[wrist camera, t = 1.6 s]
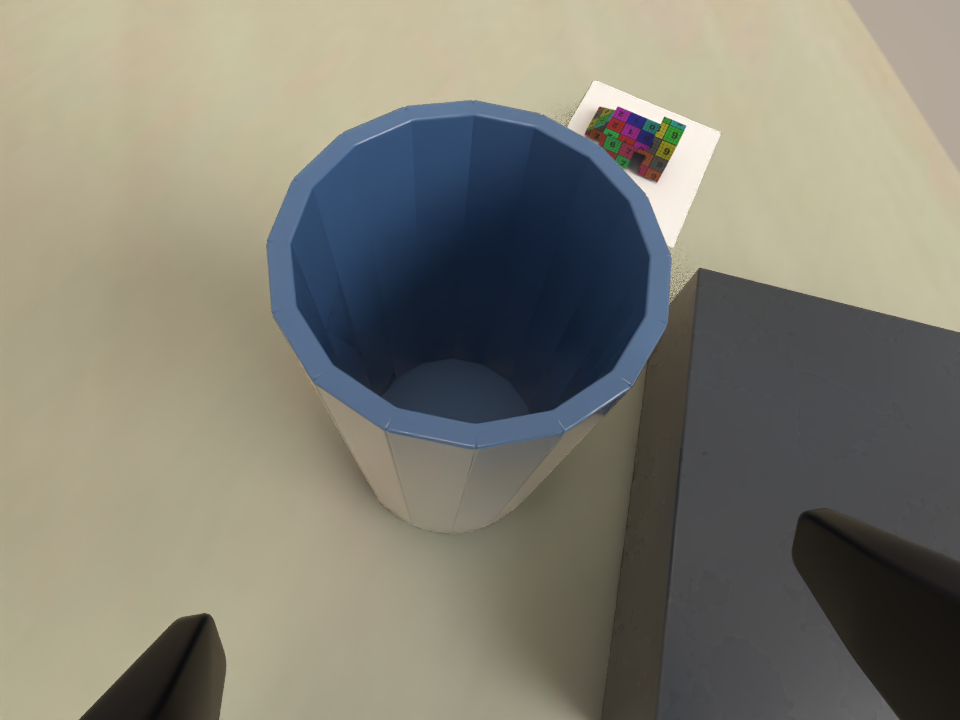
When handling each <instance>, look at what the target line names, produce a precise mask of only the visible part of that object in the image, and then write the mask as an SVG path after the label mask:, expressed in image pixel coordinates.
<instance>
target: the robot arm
mask: <svg viewBox="0 0 960 720" xmlns="http://www.w3.org/2000/svg"><path fill="white" fill-rule="evenodd" d="M791 553H792V559H793V563H794V565H795V567H796V569H797V571H798V572H799V574H800V575H801V577H802V579H803V580H804V582H805V583H806V585H807V586H808V588H809V590H810V591H811V593H812V594H813V596H814V598H815V599H816V601H817V602H818V604H819V605H820V607H821V609H822V610H823V612H824V613H825V615H826V617H827V618H828V620H829V621H830V623H831V625H832V626H833V628H834V629H835V631H836V632H837V634H838V636H839V637H840V639H841V640H842V642H843V643H844V645H845V646H846V648H847V649H848V651H849V652H850V654H851V655H852V657H853V658H854V660H855V661H856V663H857V664H858V665H859V667H860V668H861V669H862V671H863V672H864V674H865V675H866V676H867V678H868V679H869V680H870V682H871V683H872V684H873V685H874V687H875V688H876V689H877V691H878V692H879V693H880V695H881V696H882V697H883V699H884V700H885V701H886V703H887V704H888V705H889V707H890V708H891V709H892V711H893V712H894V713H895V715H896V716H897V717H898V718H899V720H960V561H959V560H956V559H954V558H951V557H949V556H946V555H944V554H941V553H939V552H936V551H934V550H931V549H929V548H926V547H924V546H922V545H919V544H917V543H914V542H912V541H909V540H907V539H904V538H902V537H899V536H897V535H894V534H892V533H889V532H887V531H884V530H882V529H879V528H877V527H874V526H872V525H869V524H867V523H864V522H862V521H859V520H857V519H855V518H852V517H850V516H847V515H845V514H842V513H840V512H837V511H835V510H832V509H829V508H820V509H814V510H808V511H804V512H802V513H801V514H800V516H799V517H798V521H797V526H796V531H795V536H794V541H793V545H792V552H791ZM225 675H226V657H225V652H224V649H223V646H222V643H221V640H220V637H219V634H218V631H217V628H216V625H215V622H214V620H213V618H212V616H211V615H210V614H206V613H203V614H197V615H191V616H185V617H181V618H178V619H177V620H176V621H174V622H173V623H172V624H171V625H170V626H169V627H168V628H167V629H166V630H165V631H164V632H163V633H162V634H161V635H160V636H159V637H158V639H157V640H156V641H155V642H154V643H153V644H152V645H151V646H150V647H149V648H148V649H147V650H146V651H145V652H144V653H143V654H142V655H141V656H140V657H139V658H138V659H137V660H136V661H135V662H134V663H133V664H132V665H131V666H130V667H129V668H128V669H127V671H126V672H125V673H124V674H123V675H122V676H121V677H120V678H119V679H118V680H117V681H116V682H115V683H114V684H113V685H112V686H111V687H110V688H109V689H108V690H107V691H106V692H105V693H104V694H103V695H102V696H101V697H100V698H99V699H98V700H97V701H96V703H95V704H94V705H93V706H92V707H91V708H90V709H89V710H88V711H87V712H86V713H85V714H84V715H83V716H82V717H81V718H80V719H79V720H219V716H220V709H221V702H222V695H223V688H224V682H225Z"/></svg>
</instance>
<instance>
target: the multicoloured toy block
mask: <svg viewBox="0 0 960 720" xmlns="http://www.w3.org/2000/svg"><path fill="white" fill-rule="evenodd" d="M567 128H569V129H571V130H572V131H574V132H576V133H578V134H580V135H582V136H583V137H585V138H587V139H589V140H591V141H593V142H595V143H596V144H598V145H600V147H602V148H604V149H605V150H606V152H607V153H608V154H609V155H610V156H611V157H612V158H613V159H614V160H615V161H616V162H617V163H618V164H619V165H620V167H621V168H622V169H623V170H624V171H625V172H626V173H627V174H628V175H629V176H630V177H631V178H632V179H633V180H634V182H635V183H636V184H637V185H638V186H639V187H640V188H641V189H642V190H643V191H644V192H645V193H646V196H647V197H648V198H649V201H650V203H651V206H652V208H653V211H654V213H655V216H656V218H657V221H658V224H659V226H660V229H661V231H662V234H663V236H664V239H665V241H666V244H667V246H669V247H671V248H673V247H674V245H675V242H676V240H677V237H678V235H679V233H680V230H681V228H682V225H683V223H684V221H685V218H686V216H687V213H688V211H689V209H690V206H691V204H692V201H693V199H694V197H695V194H696V192H697V190H698V187H699V185H700V182H701V180H702V178H703V175H704V173H705V170H706V168H707V166H708V163H709V161H710V158H711V156H712V154H713V151H714V149H715V146H716V144H717V142H718V139H719V137H720V135H721V132H719V131H716V130H714V129H711V128H709V127H707V126H704V125H702V124H699V123H697V122H694V121H692V120H690V119H687V118H685V117H682V116H680V115H678V114H675V113H673V112H670V111H668V110H666V109H663V108H661V107H658V106H656V105H653V104H651V103H649V102H646V101H644V100H641V99H639V98H637V97H634V96H632V95H629V94H627V93H625V92H622V91H620V90H617V89H615V88H612V87H610V86H608V85H605V84H603V83H600V82H598V81H596V80H594V81H593V83H592V85H591V86H590V88H589V90H588V92H587V93H586V95H585V97H584V98H583V100H582V102H581V104H580V105H579V107H578V109H577V110H576V112H575V114H574V115H573V117H572V119H571V121H570V122H569V124H568V126H567Z"/></svg>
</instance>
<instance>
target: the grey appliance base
mask: <svg viewBox="0 0 960 720" xmlns="http://www.w3.org/2000/svg"><path fill="white" fill-rule="evenodd" d="M820 508H829V509H832V510H835V511H837V512H840V513H842V514H845V515H847V516H850V517H852V518H855V519H857V520H859V521H862V522H864V523H867V524H869V525H872V526H874V527H877V528H879V529H882V530H884V531H887V532H889V533H892V534H894V535H897V536H899V537H902V538H904V539H907V540H909V541H912V542H914V543H917V544H919V545H922V546H924V547H926V548H929V549H931V550H934V551H936V552H939V553H941V554H944V555H946V556H949V557H951V558H954V559H956V560H959V561H960V332H955V331H951V330H947V329H943V328H939V327H935V326H931V325H927V324H923V323H919V322H915V321H911V320H907V319H903V318H899V317H895V316H891V315H887V314H883V313H879V312H875V311H871V310H867V309H863V308H859V307H855V306H851V305H847V304H843V303H839V302H835V301H831V300H827V299H823V298H819V297H815V296H811V295H807V294H803V293H799V292H795V291H791V290H787V289H783V288H779V287H775V286H771V285H767V284H763V283H759V282H755V281H751V280H747V279H743V278H739V277H735V276H731V275H727V274H723V273H719V272H715V271H711V270H707V269H703V268H699V269H698V270H697V271H696V273H695V274H694V275H693V276H692V277H691V279H690V280H689V281H688V282H687V284H686V285H685V286H684V287H683V289H682V290H681V291H680V292H679V294H678V295H677V296H676V297H675V298H674V300H673V301H672V302H671V303H670V305H669V313H668V323H667V327H666V329H665V331H664V333H663V334H662V336H661V338H660V340H659V341H658V343H657V345H656V347H655V348H654V350H653V352H652V353H651V355H650V357H649V359H648V367H647V375H646V382H645V390H644V398H643V405H642V413H641V421H640V428H639V436H638V444H637V451H636V459H635V467H634V474H633V482H632V490H631V498H630V505H629V513H628V521H627V528H626V536H625V544H624V551H623V559H622V567H621V574H620V582H619V590H618V597H617V605H616V613H615V620H614V628H613V636H612V643H611V651H610V659H609V666H608V674H607V682H606V690H605V697H604V705H603V713H602V720H899V718H898V717H897V716H896V715H895V713H894V712H893V711H892V709H891V708H890V707H889V705H888V704H887V703H886V701H885V700H884V699H883V697H882V696H881V695H880V693H879V692H878V691H877V689H876V688H875V687H874V685H873V684H872V683H871V682H870V680H869V679H868V678H867V676H866V675H865V674H864V672H863V671H862V669H861V668H860V667H859V665H858V664H857V663H856V661H855V660H854V658H853V657H852V655H851V654H850V652H849V651H848V649H847V648H846V646H845V645H844V643H843V642H842V640H841V639H840V637H839V636H838V634H837V632H836V631H835V629H834V628H833V626H832V625H831V623H830V621H829V620H828V618H827V617H826V615H825V613H824V612H823V610H822V609H821V607H820V605H819V604H818V602H817V601H816V599H815V598H814V596H813V594H812V593H811V591H810V590H809V588H808V586H807V585H806V583H805V582H804V580H803V579H802V577H801V575H800V574H799V572H798V571H797V569H796V567H795V565H794V563H793V559H792V553H791V552H792V545H793V541H794V536H795V531H796V526H797V521H798V517H799V516H800V514H801V513H802V512H804V511H808V510H814V509H820Z"/></svg>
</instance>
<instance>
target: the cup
mask: <svg viewBox="0 0 960 720" xmlns="http://www.w3.org/2000/svg"><path fill="white" fill-rule="evenodd" d="M266 248H267V262H268V275H269V288H270V302H271V312H272V314H273V318H274V320H275V322H276V323H277V325H278V327H279V329H280V330H281V332H282V334H283V336H284V337H285V339H286V341H287V342H288V344H289V346H290V348H291V349H292V351H293V353H294V355H295V356H296V358H297V360H298V362H299V363H300V365H301V367H302V369H303V370H304V372H305V374H306V376H307V377H308V379H309V381H310V383H311V384H312V386H313V388H314V390H315V391H316V393H317V395H318V397H319V398H320V400H321V402H322V404H323V405H324V407H325V409H326V411H327V412H328V414H329V416H330V418H331V419H332V421H333V423H334V425H335V426H336V428H337V430H338V432H339V433H340V435H341V437H342V439H343V440H344V442H345V444H346V446H347V447H348V449H349V451H350V453H351V454H352V456H353V458H354V460H355V461H356V463H357V465H358V467H359V468H360V470H361V472H362V473H363V475H364V477H365V478H366V480H367V482H368V483H369V485H370V487H371V489H372V490H373V492H374V493H375V495H376V497H377V498H378V500H379V502H380V503H381V504H382V505H384V506H385V507H386V508H387V509H388V510H390V511H391V512H392V513H393V514H395V515H396V516H397V517H399V518H400V519H402V520H403V521H405V522H407V523H409V524H410V525H413V526H415V527H418V528H420V529H424V530H427V531H431V532H438V533H449V534H450V533H452V534H453V533H464V532H470V531H474V530H477V529H481V528H484V527H487V526H489V525H492V524H493V523H495V522H496V521H498V520H499V519H501V518H503V517H504V516H505V515H507V514H508V513H509V512H510V511H512V510H513V509H514V508H516V507H517V506H519V505H520V504H521V503H522V502H523V501H524V500H525V499H526V498H527V497H528V496H529V495H530V494H531V493H532V492H533V490H534V489H535V488H536V487H537V486H538V485H539V484H540V483H541V482H542V481H543V480H544V479H545V478H546V477H547V476H548V475H549V474H550V473H551V472H552V470H553V469H554V468H555V467H556V466H557V465H558V464H559V463H560V462H561V461H562V460H563V459H564V458H565V457H566V456H567V455H568V454H569V453H570V452H571V450H572V449H573V448H574V447H575V446H576V445H577V444H578V443H579V442H580V441H581V440H582V439H583V438H584V437H585V436H586V435H587V434H588V433H589V432H590V430H591V429H592V428H593V427H594V426H595V425H596V424H597V423H598V422H599V421H600V420H601V419H602V418H603V417H604V416H605V415H606V414H607V413H608V412H609V410H610V409H611V408H612V407H613V406H614V405H615V404H616V403H617V402H618V401H619V400H620V399H621V398H622V397H623V396H624V395H625V394H626V393H627V391H628V390H629V389H630V388H631V387H632V386H633V385H634V383H635V381H636V379H637V378H638V376H639V374H640V372H641V371H642V369H643V367H644V366H645V364H646V362H647V360H648V359H649V357H650V355H651V353H652V352H653V350H654V348H655V347H656V345H657V343H658V341H659V340H660V338H661V336H662V334H663V333H664V331H665V329H666V327H667V323H668V313H669V296H670V278H671V261H672V259H671V254H670V251H669V249H668V246H667V244H666V241H665V239H664V236H663V234H662V231H661V229H660V226H659V224H658V221H657V218H656V216H655V213H654V211H653V208H652V206H651V203H650V201H649V198H648V197H647V196H646V193H645V192H644V191H643V190H642V189H641V188H640V187H639V186H638V185H637V184H636V183H635V182H634V180H633V179H632V178H631V177H630V176H629V175H628V174H627V173H626V172H625V171H624V170H623V169H622V168H621V167H620V165H619V164H618V163H617V162H616V161H615V160H614V159H613V158H612V157H611V156H610V155H609V154H608V153H607V152H606V150H605V149H604V148H602V147H600V145H598V144H596V143H595V142H593V141H591V140H589V139H587V138H585V137H583V136H582V135H580V134H578V133H576V132H574V131H572V130H571V129H569V128H567V127H565V126H563V125H561V124H559V123H558V122H556V121H554V120H552V119H550V118H548V117H547V116H545V115H541V114H539V113H535V112H530V111H526V110H521V109H516V108H511V107H506V106H501V105H496V104H491V103H486V102H481V101H476V100H475V101H474V102H473V100H467V101H456V102H445V103H434V104H423V105H412V106H406V107H401V108H399V109H397V110H394V111H392V112H390V113H387V114H385V115H382V116H380V117H378V118H375V119H373V120H371V121H368V122H366V123H364V124H361V125H359V126H357V127H354V128H352V129H349V130H347V131H345V132H343V133H342V134H340V135H339V136H338V137H337V138H336V139H335V140H333V141H332V142H331V143H330V144H329V145H328V146H327V147H326V148H325V149H324V150H323V151H322V152H321V153H320V154H319V155H318V156H317V157H315V158H314V159H313V160H312V161H311V162H310V163H309V164H308V165H307V166H306V167H305V168H304V169H303V170H302V171H301V172H300V173H299V174H298V175H296V176H295V177H294V179H293V180H292V182H291V184H290V186H289V189H288V191H287V194H286V196H285V198H284V201H283V203H282V206H281V208H280V210H279V213H278V215H277V218H276V220H275V222H274V225H273V227H272V230H271V232H270V234H269V237H268V239H267V245H266Z"/></svg>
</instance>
